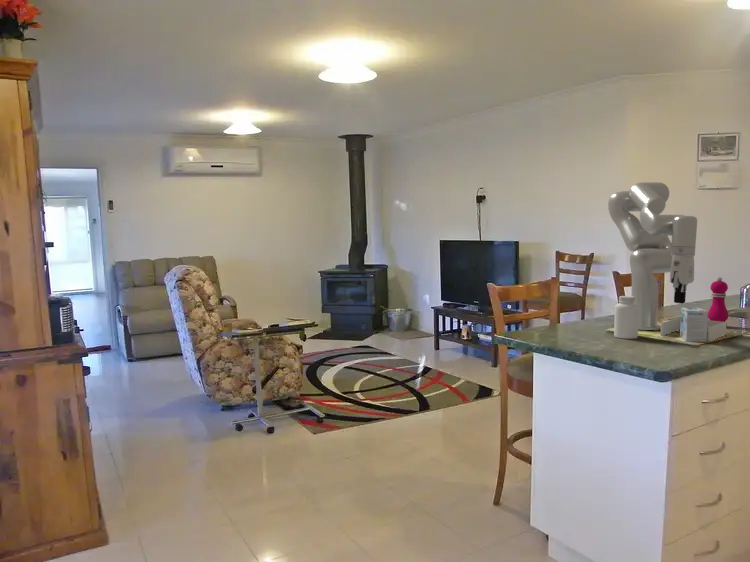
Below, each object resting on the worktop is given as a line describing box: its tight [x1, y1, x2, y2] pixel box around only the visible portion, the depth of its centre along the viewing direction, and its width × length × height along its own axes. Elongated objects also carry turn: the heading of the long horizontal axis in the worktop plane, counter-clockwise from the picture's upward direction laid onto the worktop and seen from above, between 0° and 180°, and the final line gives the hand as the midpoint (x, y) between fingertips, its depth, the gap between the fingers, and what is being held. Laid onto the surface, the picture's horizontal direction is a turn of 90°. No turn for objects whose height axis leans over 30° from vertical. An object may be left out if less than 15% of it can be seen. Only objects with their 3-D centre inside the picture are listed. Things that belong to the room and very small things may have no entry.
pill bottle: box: [613, 295, 639, 340], centre depth 210 cm, size 8×8×15 cm
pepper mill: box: [708, 276, 729, 328], centre depth 231 cm, size 7×7×20 cm
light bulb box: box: [679, 307, 709, 343], centre depth 206 cm, size 11×7×11 cm, turn 163°
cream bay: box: [660, 317, 727, 343], centre depth 213 cm, size 17×17×5 cm
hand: (679, 302), depth 205 cm, fingers closed
